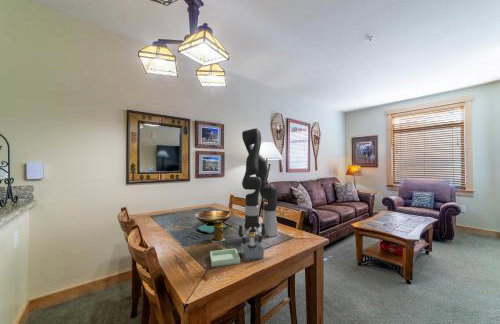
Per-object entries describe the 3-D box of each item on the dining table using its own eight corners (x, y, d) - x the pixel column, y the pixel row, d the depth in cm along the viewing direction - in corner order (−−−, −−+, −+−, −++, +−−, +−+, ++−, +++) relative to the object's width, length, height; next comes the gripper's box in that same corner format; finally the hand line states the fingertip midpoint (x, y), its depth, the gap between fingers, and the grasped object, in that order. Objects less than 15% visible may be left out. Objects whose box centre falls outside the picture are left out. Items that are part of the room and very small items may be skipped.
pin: (254, 253, 114) (254, 231, 114) (256, 256, 110) (256, 234, 110) (247, 254, 113) (247, 232, 113) (248, 257, 109) (248, 235, 109)
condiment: (225, 240, 133) (225, 221, 133) (213, 242, 128) (213, 223, 128) (220, 236, 139) (220, 218, 139) (208, 239, 134) (208, 220, 134)
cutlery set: (230, 228, 155) (230, 225, 155) (197, 241, 132) (197, 238, 132) (213, 223, 168) (213, 220, 168) (180, 234, 144) (180, 231, 144)
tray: (235, 252, 114) (235, 248, 114) (240, 263, 103) (240, 258, 103) (210, 255, 111) (210, 251, 111) (211, 267, 99) (211, 262, 99)
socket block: (258, 250, 118) (258, 241, 118) (263, 258, 108) (263, 249, 108) (240, 252, 115) (240, 243, 115) (245, 260, 105) (245, 251, 105)
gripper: (262, 210, 117) (262, 239, 117) (237, 212, 113) (237, 241, 113) (266, 214, 110) (266, 244, 110) (240, 216, 106) (240, 247, 106)
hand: (251, 243), depth 112 cm, fingers open, 8 cm apart
